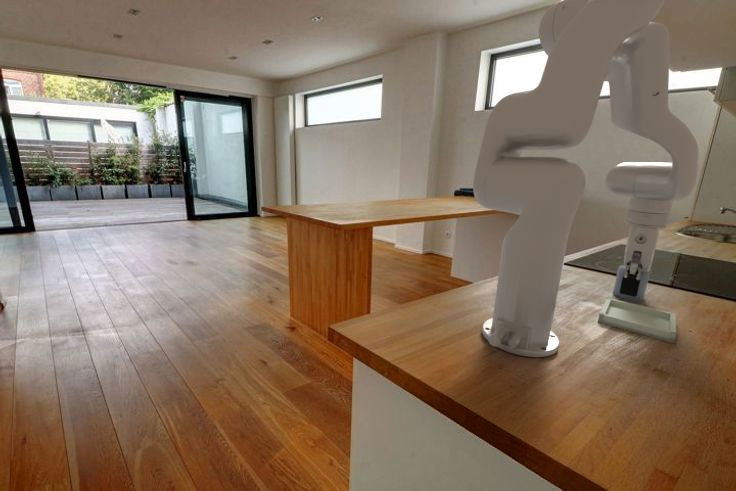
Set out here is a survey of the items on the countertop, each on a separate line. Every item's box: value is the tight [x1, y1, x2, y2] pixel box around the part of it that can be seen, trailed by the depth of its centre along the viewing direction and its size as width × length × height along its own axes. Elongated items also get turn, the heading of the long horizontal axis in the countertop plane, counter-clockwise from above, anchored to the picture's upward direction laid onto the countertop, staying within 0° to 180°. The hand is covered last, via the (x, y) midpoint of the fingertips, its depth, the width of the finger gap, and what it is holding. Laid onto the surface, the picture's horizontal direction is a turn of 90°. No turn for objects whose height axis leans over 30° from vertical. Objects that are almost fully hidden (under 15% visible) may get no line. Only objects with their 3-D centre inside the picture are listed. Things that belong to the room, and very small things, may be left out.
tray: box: [597, 297, 677, 344], centre depth 68 cm, size 12×12×2 cm
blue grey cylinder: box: [612, 264, 651, 303], centre depth 81 cm, size 6×6×7 cm
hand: (629, 289), depth 82 cm, fingers open, 9 cm apart
